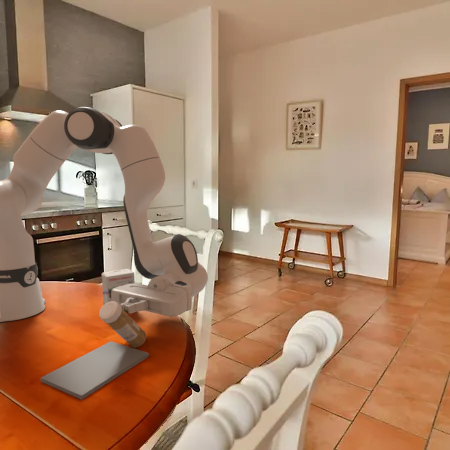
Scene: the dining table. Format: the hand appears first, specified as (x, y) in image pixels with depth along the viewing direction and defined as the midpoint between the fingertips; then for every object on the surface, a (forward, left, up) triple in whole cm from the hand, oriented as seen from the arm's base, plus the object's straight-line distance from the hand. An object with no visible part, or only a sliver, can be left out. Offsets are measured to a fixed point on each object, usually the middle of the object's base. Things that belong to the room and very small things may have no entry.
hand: (124, 309), depth 83 cm
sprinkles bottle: (+1, +4, -9) cm, 10 cm away
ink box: (-17, +21, -10) cm, 29 cm away
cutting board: (-1, -8, -10) cm, 13 cm away
